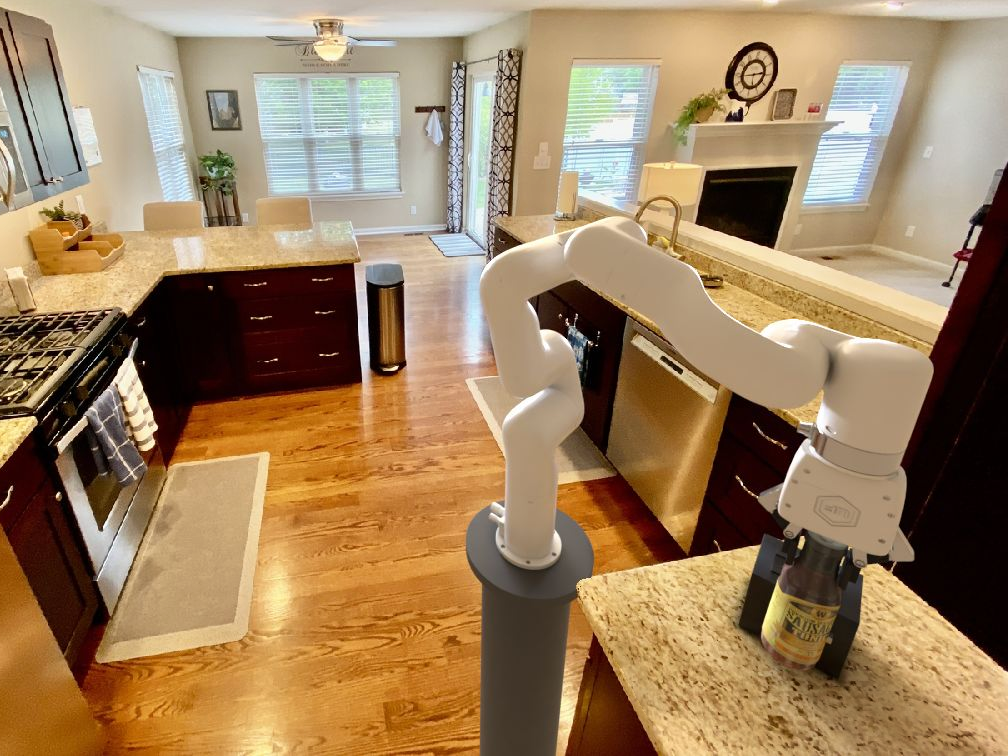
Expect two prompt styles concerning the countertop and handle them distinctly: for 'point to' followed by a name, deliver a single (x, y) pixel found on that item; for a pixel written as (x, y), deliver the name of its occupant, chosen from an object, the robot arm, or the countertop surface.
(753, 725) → the countertop surface
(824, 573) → the sauce bottle
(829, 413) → the robot arm
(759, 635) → the toaster
